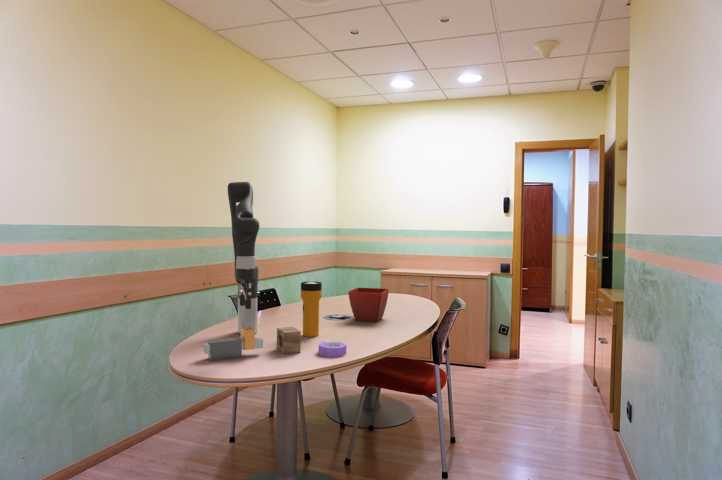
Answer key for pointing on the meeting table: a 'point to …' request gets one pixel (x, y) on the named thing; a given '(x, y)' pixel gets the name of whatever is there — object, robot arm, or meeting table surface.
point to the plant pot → (368, 303)
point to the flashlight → (311, 307)
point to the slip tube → (243, 340)
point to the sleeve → (225, 349)
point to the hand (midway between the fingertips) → (245, 307)
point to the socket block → (288, 340)
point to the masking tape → (332, 349)
